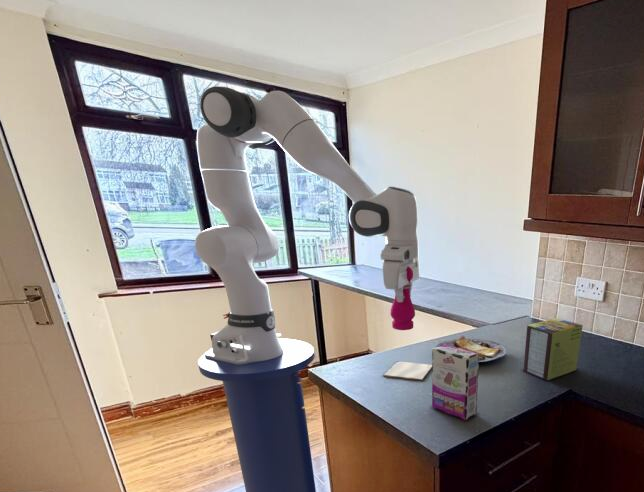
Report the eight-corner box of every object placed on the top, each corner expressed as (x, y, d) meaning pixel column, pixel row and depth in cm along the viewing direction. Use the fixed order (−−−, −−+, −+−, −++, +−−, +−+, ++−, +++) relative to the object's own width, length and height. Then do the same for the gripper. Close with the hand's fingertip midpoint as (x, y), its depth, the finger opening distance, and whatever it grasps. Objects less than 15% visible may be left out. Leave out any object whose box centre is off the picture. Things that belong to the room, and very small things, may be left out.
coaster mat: (383, 376, 122) (383, 374, 122) (397, 362, 133) (397, 361, 133) (422, 380, 120) (422, 379, 120) (433, 366, 131) (433, 364, 131)
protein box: (577, 370, 134) (583, 324, 128) (547, 381, 124) (552, 332, 118) (552, 360, 141) (557, 317, 135) (522, 370, 131) (526, 324, 125)
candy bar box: (477, 413, 103) (480, 353, 97) (465, 421, 99) (468, 358, 93) (443, 401, 109) (444, 343, 102) (431, 407, 105) (431, 347, 99)
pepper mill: (401, 322, 126) (401, 256, 119) (419, 327, 123) (420, 259, 115) (385, 327, 120) (383, 258, 113) (404, 332, 117) (403, 262, 109)
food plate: (421, 353, 142) (421, 343, 141) (467, 339, 159) (467, 331, 157) (473, 373, 127) (473, 363, 126) (518, 356, 143) (519, 347, 142)
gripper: (404, 246, 123) (405, 292, 128) (377, 253, 104) (380, 306, 109) (424, 247, 122) (424, 293, 127) (400, 255, 103) (402, 308, 109)
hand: (403, 299), depth 118 cm, fingers closed on pepper mill, 4 cm apart
